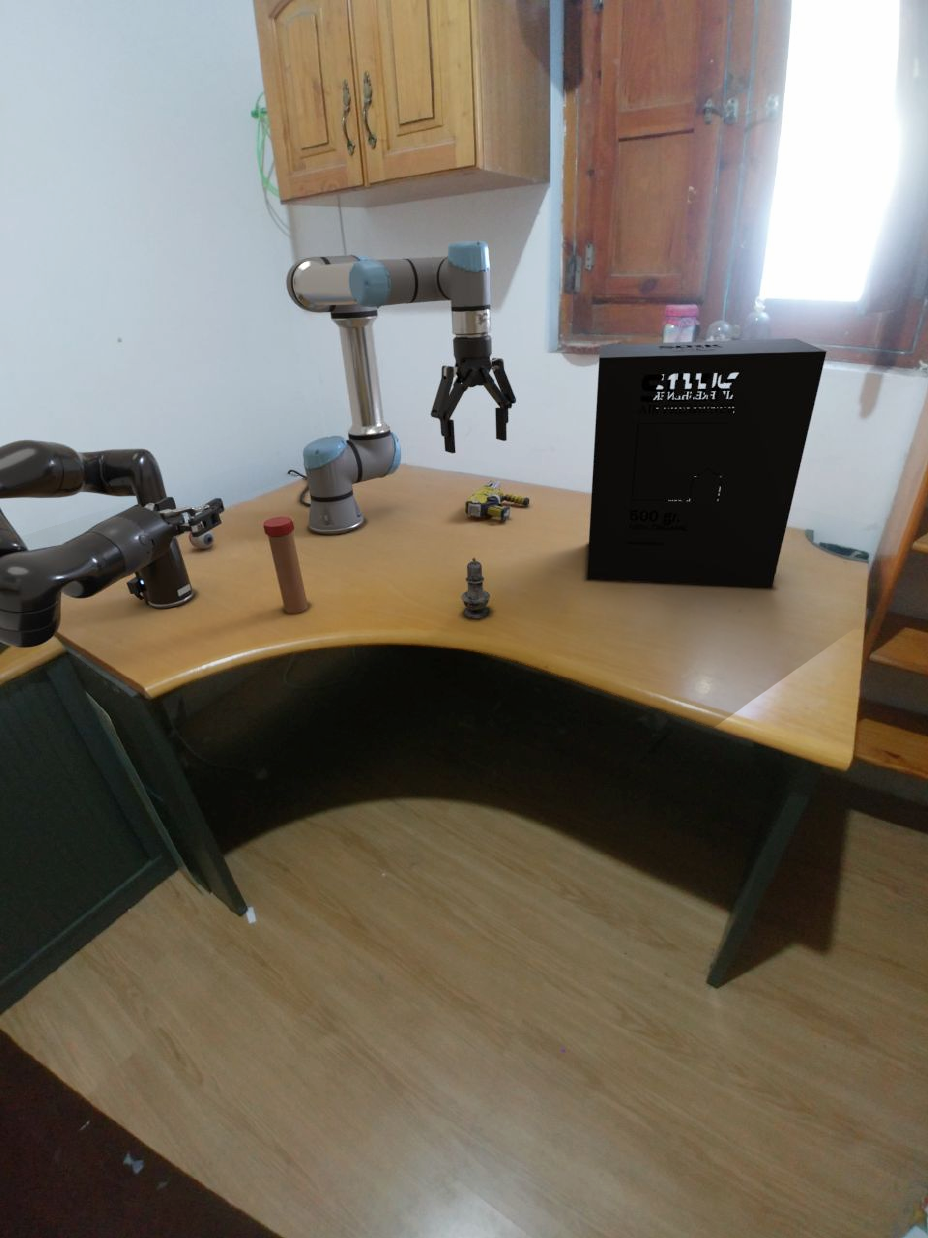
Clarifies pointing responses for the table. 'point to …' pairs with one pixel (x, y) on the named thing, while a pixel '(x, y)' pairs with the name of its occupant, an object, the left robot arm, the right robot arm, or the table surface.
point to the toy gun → (492, 502)
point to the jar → (288, 573)
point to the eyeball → (202, 540)
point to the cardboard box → (698, 459)
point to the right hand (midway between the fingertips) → (476, 445)
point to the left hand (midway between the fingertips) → (196, 503)
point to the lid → (278, 526)
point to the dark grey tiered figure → (475, 592)
